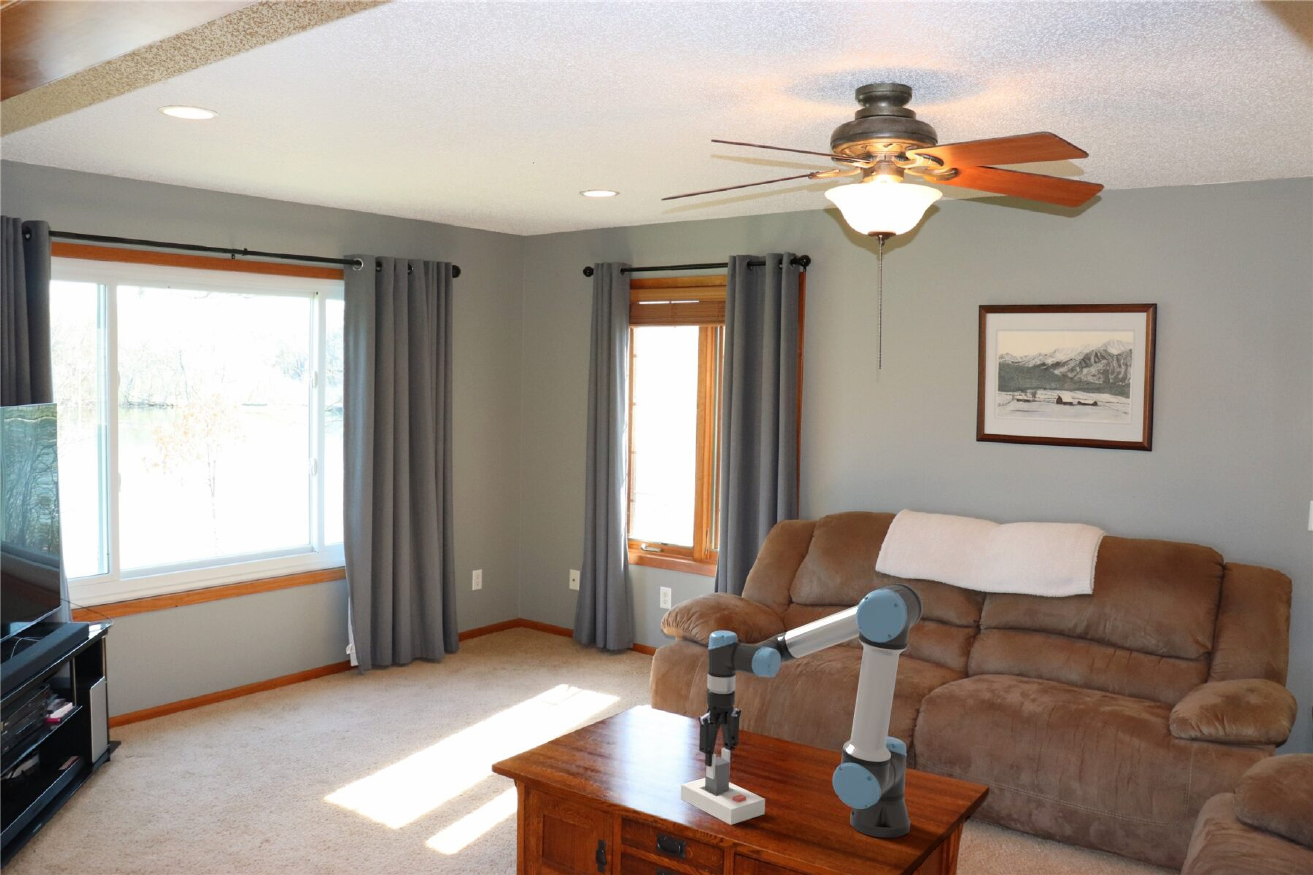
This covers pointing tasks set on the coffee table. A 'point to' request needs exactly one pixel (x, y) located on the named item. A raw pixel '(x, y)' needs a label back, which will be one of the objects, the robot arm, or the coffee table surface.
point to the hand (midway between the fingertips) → (717, 775)
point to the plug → (719, 778)
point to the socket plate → (724, 802)
